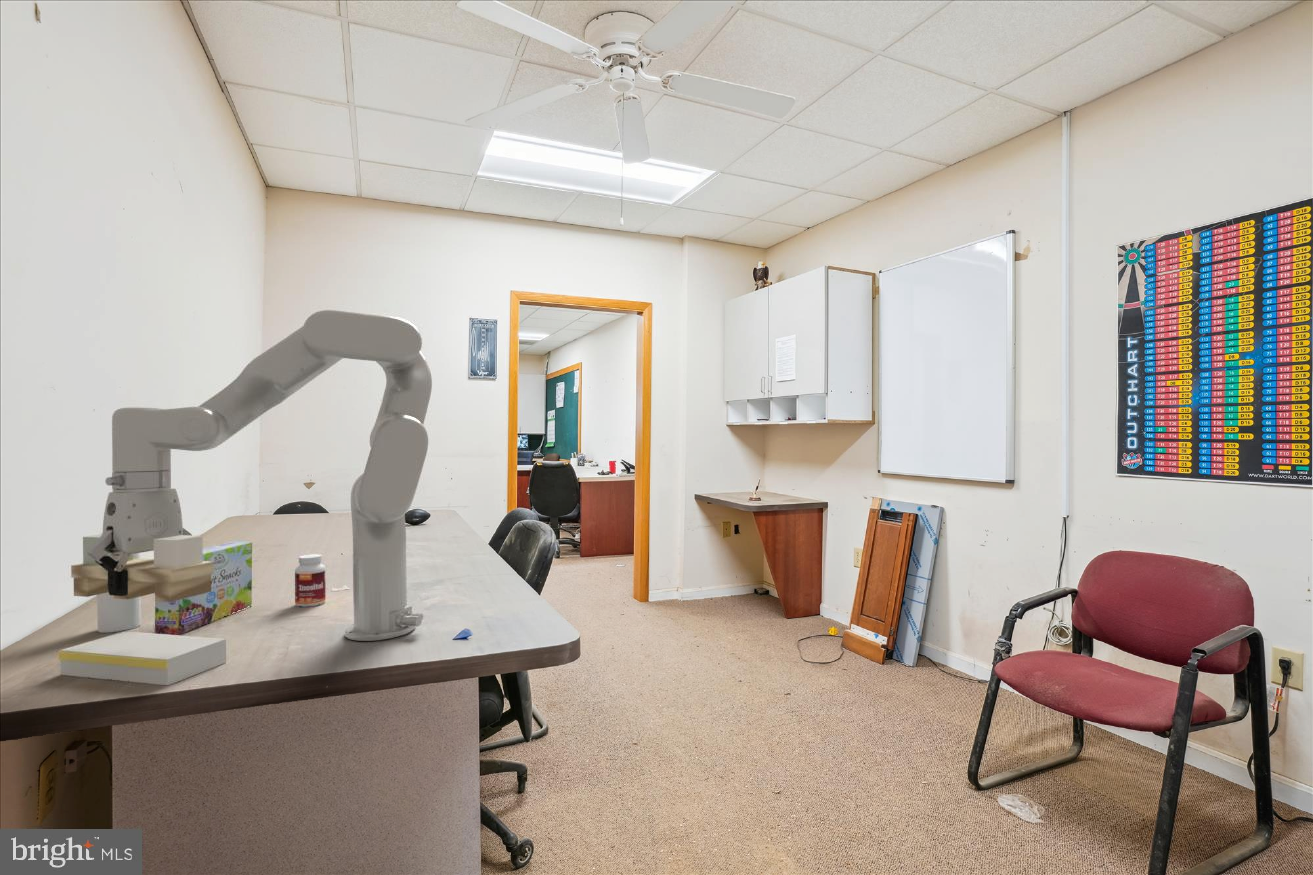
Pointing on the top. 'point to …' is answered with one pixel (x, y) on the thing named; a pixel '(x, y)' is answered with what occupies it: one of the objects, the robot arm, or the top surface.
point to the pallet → (146, 580)
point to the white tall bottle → (118, 612)
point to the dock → (143, 657)
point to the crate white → (178, 551)
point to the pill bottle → (310, 581)
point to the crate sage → (87, 543)
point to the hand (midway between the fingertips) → (143, 588)
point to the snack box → (212, 591)
